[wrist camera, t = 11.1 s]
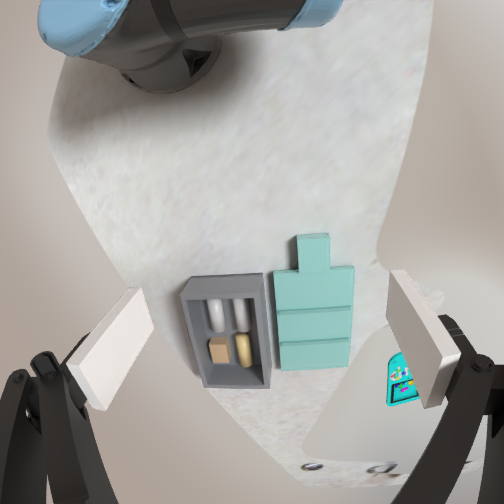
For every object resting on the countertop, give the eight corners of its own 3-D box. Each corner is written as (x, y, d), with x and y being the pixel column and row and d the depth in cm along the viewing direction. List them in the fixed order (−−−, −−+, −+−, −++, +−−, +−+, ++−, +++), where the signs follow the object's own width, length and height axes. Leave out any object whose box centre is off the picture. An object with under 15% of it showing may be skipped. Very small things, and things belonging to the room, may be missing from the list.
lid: (271, 235, 43) (270, 241, 41) (352, 230, 42) (355, 236, 39) (281, 363, 52) (281, 373, 49) (346, 359, 50) (348, 368, 48)
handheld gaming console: (431, 347, 46) (423, 398, 51) (429, 343, 47) (422, 394, 52) (389, 358, 48) (386, 408, 53) (388, 354, 49) (386, 404, 54)
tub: (191, 276, 47) (179, 294, 41) (262, 272, 45) (259, 292, 40) (211, 364, 53) (204, 387, 47) (271, 364, 51) (269, 388, 46)
